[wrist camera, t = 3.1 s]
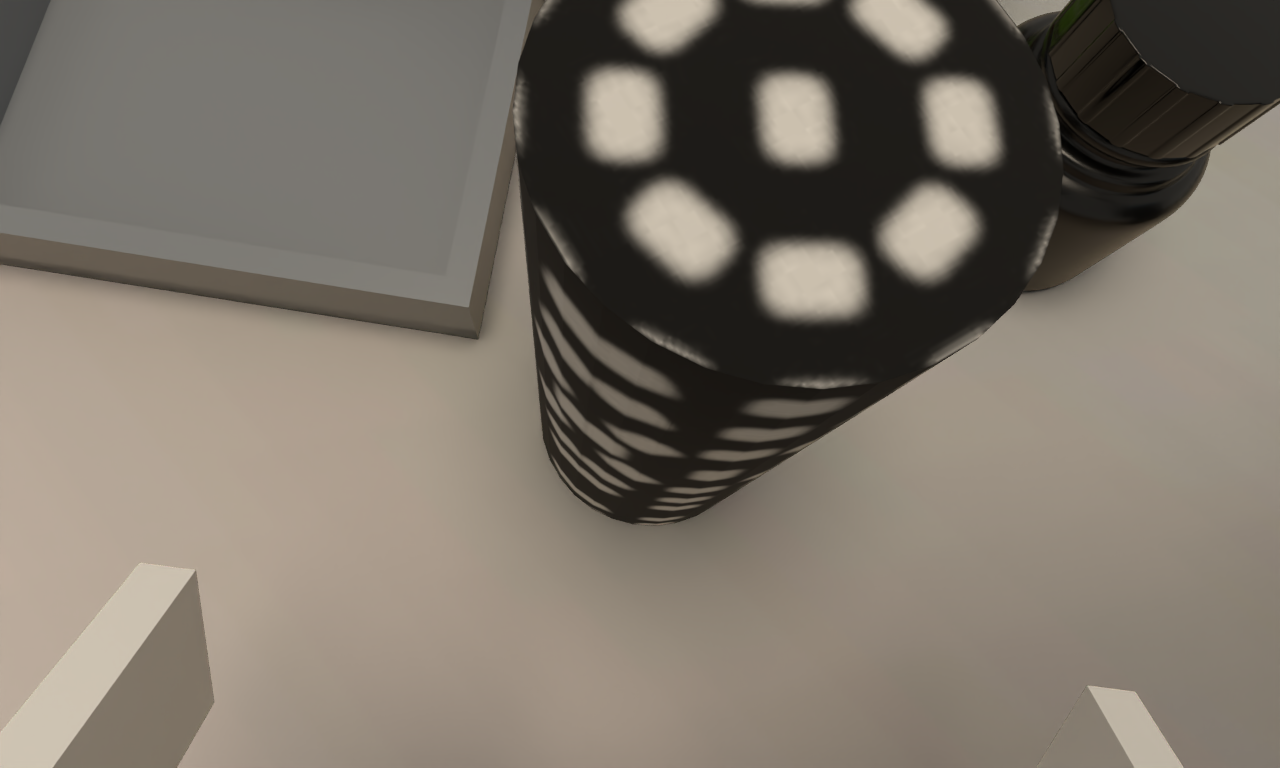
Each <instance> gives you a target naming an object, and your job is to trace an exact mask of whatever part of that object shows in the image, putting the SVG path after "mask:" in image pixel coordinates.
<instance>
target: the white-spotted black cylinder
mask: <svg viewBox="0 0 1280 768" xmlns="http://www.w3.org/2000/svg"><path fill="white" fill-rule="evenodd" d="M513 123H514V134H515V144H516V155H517V166H518V176H519V187H520V198H521V209H522V219H523V230H524V241H525V251H526V262H527V273H528V283H529V294H530V305H531V315H532V326H533V337H534V348H535V358H536V369H537V380H538V390H539V401H540V412H541V422H542V431H543V439H544V443H545V446H546V449H547V452H548V455H549V458H550V460H551V462H552V464H553V466H554V468H555V469H556V471H557V473H558V475H559V477H560V478H561V479H562V481H563V482H564V483H565V484H566V485H567V486H568V488H569V489H570V490H571V491H572V492H573V493H574V495H576V496H577V497H578V498H579V499H581V500H582V501H583V502H585V503H586V504H587V505H588V506H590V507H591V508H592V509H594V510H596V511H598V512H600V513H602V514H604V515H606V516H608V517H610V518H613V519H616V520H620V521H624V522H627V523H631V524H640V525H662V524H670V523H677V522H679V521H682V520H685V519H688V518H691V517H694V516H697V515H698V514H700V513H702V512H703V511H705V510H707V509H708V508H710V507H712V506H714V505H715V504H717V503H718V502H720V501H722V500H723V499H725V498H726V497H728V496H729V495H731V494H733V493H734V492H736V491H737V490H739V489H741V488H742V487H744V486H745V485H747V484H748V483H750V482H752V481H753V480H755V479H756V478H758V477H760V476H761V475H763V474H764V473H766V472H767V471H769V470H771V469H772V468H774V467H775V466H777V465H779V464H780V463H782V462H783V461H785V460H786V459H788V458H790V457H791V456H793V455H794V454H796V453H798V452H799V451H801V450H802V449H804V448H805V447H807V446H809V445H810V444H812V443H813V442H815V441H817V440H818V439H820V438H821V437H823V436H824V435H826V434H828V433H829V432H831V431H832V430H834V429H836V428H837V427H839V426H840V425H842V424H843V423H845V422H847V421H848V420H850V419H851V418H853V417H855V416H856V415H858V414H859V413H861V412H862V411H864V410H866V409H867V408H869V407H870V406H872V405H874V404H875V403H877V402H878V401H880V400H881V399H883V398H885V397H886V396H888V395H889V394H891V393H893V392H894V391H896V390H897V389H899V388H901V387H902V386H904V385H905V384H907V383H908V382H910V381H912V380H913V379H915V378H916V377H918V376H920V375H921V374H923V373H924V372H926V371H927V370H929V369H931V368H932V367H934V366H935V365H937V364H939V363H940V362H942V361H943V360H945V359H946V358H948V357H950V356H951V355H953V354H954V353H956V352H958V351H959V350H961V349H962V348H964V347H965V346H967V345H969V344H970V343H972V342H973V341H975V340H977V339H978V338H979V337H980V336H981V335H982V334H983V333H984V332H985V331H987V330H988V329H989V328H990V327H991V326H992V325H993V324H994V323H995V322H996V321H997V320H998V319H999V318H1000V317H1001V316H1002V315H1003V314H1004V313H1006V312H1007V311H1008V310H1009V309H1010V308H1011V307H1012V306H1013V305H1014V304H1015V303H1016V301H1017V299H1018V298H1019V296H1020V295H1021V293H1022V292H1023V290H1024V289H1025V287H1026V286H1027V284H1028V283H1029V281H1030V280H1031V278H1032V277H1033V275H1034V274H1035V272H1036V271H1037V269H1038V267H1039V266H1040V264H1041V263H1042V260H1043V257H1044V255H1045V252H1046V249H1047V246H1048V244H1049V241H1050V238H1051V235H1052V233H1053V230H1054V227H1055V224H1056V222H1057V219H1058V212H1059V204H1060V196H1061V188H1062V180H1063V172H1064V170H1063V159H1062V148H1061V136H1060V125H1059V121H1058V118H1057V114H1056V111H1055V108H1054V104H1053V101H1052V98H1051V94H1050V91H1049V88H1048V84H1047V81H1046V78H1045V76H1044V74H1043V72H1042V70H1041V68H1040V66H1039V64H1038V62H1037V60H1036V58H1035V57H1034V55H1033V53H1032V51H1031V49H1030V47H1029V45H1028V43H1027V41H1026V39H1025V37H1024V35H1023V34H1022V32H1021V31H1020V30H1019V29H1018V27H1017V26H1016V25H1015V23H1014V22H1013V21H1012V19H1011V18H1010V17H1009V15H1008V14H1007V13H1006V12H1005V10H1004V9H1003V8H1002V6H1001V5H1000V4H999V2H998V1H997V0H546V1H545V2H544V4H543V5H542V7H541V8H540V10H539V11H538V13H537V15H536V16H535V18H534V20H533V23H532V26H531V28H530V31H529V34H528V37H527V40H526V42H525V45H524V48H523V51H522V54H521V56H520V59H519V62H518V68H517V77H516V86H515V94H514V103H513Z"/></svg>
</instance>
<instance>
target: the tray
mask: <svg viewBox="0 0 1280 768" xmlns="http://www.w3.org/2000/svg"><path fill="white" fill-rule="evenodd" d="M545 1H546V0H0V264H4V265H10V266H17V267H23V268H29V269H36V270H42V271H48V272H55V273H61V274H67V275H74V276H80V277H86V278H93V279H99V280H105V281H112V282H118V283H125V284H131V285H137V286H144V287H150V288H156V289H163V290H169V291H175V292H182V293H188V294H194V295H201V296H207V297H213V298H220V299H226V300H232V301H239V302H245V303H251V304H258V305H264V306H270V307H277V308H283V309H290V310H296V311H302V312H309V313H315V314H321V315H328V316H334V317H340V318H347V319H353V320H359V321H366V322H372V323H378V324H385V325H391V326H397V327H404V328H410V329H416V330H423V331H429V332H435V333H442V334H448V335H455V336H461V337H467V338H474V339H478V338H479V333H480V328H481V323H482V318H483V313H484V308H485V303H486V298H487V293H488V288H489V283H490V278H491V273H492V268H493V263H494V258H495V253H496V248H497V243H498V238H499V233H500V228H501V223H502V218H503V213H504V208H505V203H506V198H507V193H508V188H509V183H510V178H511V173H512V168H513V163H514V158H515V153H516V144H515V134H514V123H513V103H514V94H515V86H516V77H517V68H518V62H519V59H520V56H521V54H522V51H523V48H524V45H525V42H526V40H527V37H528V34H529V31H530V28H531V26H532V23H533V20H534V18H535V16H536V15H537V13H538V11H539V10H540V8H541V7H542V5H543V4H544V2H545Z"/></svg>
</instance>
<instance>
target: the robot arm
mask: <svg viewBox="0 0 1280 768" xmlns="http://www.w3.org/2000/svg"><path fill="white" fill-rule="evenodd" d="M213 704H214V696H213V689H212V682H211V674H210V667H209V660H208V653H207V646H206V639H205V631H204V624H203V617H202V610H201V603H200V595H199V588H198V581H197V574H196V570H193V569H186V568H178V567H170V566H162V565H155V564H147V563H139V564H138V566H137V567H136V568H135V569H134V570H133V572H132V573H131V574H130V575H129V577H128V578H127V579H126V580H125V581H124V583H123V584H122V585H121V586H120V587H119V589H118V590H117V591H116V592H115V594H114V595H113V596H112V597H111V598H110V600H109V601H108V602H107V603H106V605H105V606H104V607H103V608H102V609H101V611H100V612H99V613H98V614H97V615H96V617H95V618H94V619H93V620H92V622H91V623H90V624H89V625H88V626H87V628H86V629H85V630H84V631H83V632H82V634H81V635H80V636H79V637H78V639H77V640H76V641H75V642H74V643H73V645H72V646H71V647H70V648H69V650H68V651H67V652H66V653H65V654H64V656H63V657H62V658H61V659H60V660H59V662H58V663H57V664H56V665H55V667H54V668H53V669H52V670H51V671H50V673H49V674H48V675H47V676H46V677H45V679H44V680H43V681H42V682H41V684H40V685H39V686H38V687H37V688H36V690H35V691H34V692H33V693H32V694H31V696H30V697H29V698H28V699H27V701H26V702H25V703H24V704H23V705H22V707H21V708H20V709H19V710H18V712H17V713H16V714H15V715H14V716H13V718H12V719H11V720H10V721H9V722H8V724H7V725H6V726H5V727H4V729H3V730H2V731H1V732H0V768H177V766H178V765H179V763H180V761H181V759H182V758H183V756H184V754H185V752H186V751H187V749H188V747H189V745H190V744H191V742H192V740H193V739H194V737H195V735H196V733H197V732H198V730H199V728H200V726H201V725H202V723H203V721H204V719H205V718H206V716H207V714H208V712H209V711H210V709H211V707H212V705H213ZM1036 768H1184V767H1183V766H1182V764H1181V763H1180V761H1179V760H1178V758H1177V756H1176V755H1175V753H1174V752H1173V750H1172V749H1171V747H1170V745H1169V744H1168V742H1167V741H1166V739H1165V738H1164V736H1163V734H1162V733H1161V731H1160V730H1159V728H1158V726H1157V725H1156V723H1155V722H1154V720H1153V719H1152V717H1151V715H1150V714H1149V712H1148V711H1147V709H1146V708H1145V706H1144V704H1143V703H1142V701H1141V700H1140V698H1139V697H1138V695H1137V693H1136V692H1134V691H1127V690H1119V689H1111V688H1103V687H1096V686H1088V685H1087V686H1086V688H1085V690H1084V691H1083V693H1082V694H1081V696H1080V698H1079V699H1078V701H1077V702H1076V704H1075V706H1074V707H1073V709H1072V711H1071V712H1070V714H1069V715H1068V717H1067V719H1066V720H1065V722H1064V723H1063V725H1062V727H1061V728H1060V730H1059V732H1058V733H1057V735H1056V736H1055V738H1054V740H1053V741H1052V743H1051V744H1050V746H1049V748H1048V749H1047V751H1046V753H1045V754H1044V756H1043V757H1042V759H1041V761H1040V762H1039V764H1038V765H1037V767H1036Z"/></svg>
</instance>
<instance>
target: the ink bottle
mask: <svg viewBox="0 0 1280 768" xmlns="http://www.w3.org/2000/svg"><path fill="white" fill-rule="evenodd" d="M1017 27H1018V29H1019V30H1020V31H1021V32H1022V34H1023V35H1024V37H1025V39H1026V41H1027V43H1028V45H1029V47H1030V49H1031V51H1032V53H1033V55H1034V57H1035V58H1036V60H1037V62H1038V64H1039V66H1040V68H1041V70H1042V72H1043V74H1044V76H1045V78H1046V81H1047V84H1048V88H1049V91H1050V94H1051V98H1052V101H1053V104H1054V108H1055V111H1056V114H1057V118H1058V121H1059V125H1060V136H1061V148H1062V159H1063V170H1064V172H1063V180H1062V188H1061V196H1060V204H1059V212H1058V219H1057V222H1056V224H1055V227H1054V230H1053V233H1052V235H1051V238H1050V241H1049V244H1048V246H1047V249H1046V252H1045V255H1044V257H1043V260H1042V263H1041V264H1040V266H1039V267H1038V269H1037V271H1036V272H1035V274H1034V275H1033V277H1032V278H1031V280H1030V281H1029V283H1028V284H1027V286H1026V287H1025V289H1024V291H1029V290H1041V289H1046V288H1050V287H1054V286H1057V285H1059V284H1062V283H1064V282H1066V281H1068V280H1070V279H1072V278H1073V277H1075V276H1077V275H1078V274H1080V273H1081V272H1083V271H1084V270H1086V269H1088V268H1089V267H1091V266H1092V265H1094V264H1096V263H1097V262H1099V261H1100V260H1102V259H1103V258H1105V257H1107V256H1108V255H1110V254H1111V253H1113V252H1114V251H1116V250H1118V249H1119V248H1121V247H1122V246H1124V245H1126V244H1127V243H1129V242H1130V241H1132V240H1133V239H1135V238H1137V237H1138V236H1140V235H1141V234H1143V233H1144V232H1146V231H1148V230H1149V229H1151V228H1152V227H1154V226H1156V225H1157V224H1159V223H1160V222H1162V221H1163V220H1165V219H1166V218H1168V217H1169V216H1170V215H1172V214H1173V213H1174V212H1175V211H1176V210H1178V209H1179V208H1180V207H1181V206H1182V205H1183V204H1184V203H1185V202H1186V201H1187V200H1188V199H1189V197H1190V196H1191V195H1192V193H1193V192H1194V191H1195V189H1196V188H1197V186H1198V184H1199V183H1200V181H1201V179H1202V177H1203V175H1204V172H1205V170H1206V167H1207V164H1208V160H1209V156H1210V151H1211V150H1212V149H1213V148H1214V147H1215V146H1216V145H1220V144H1222V143H1224V142H1225V141H1227V140H1228V139H1230V138H1231V137H1232V136H1234V135H1235V134H1237V133H1238V132H1240V131H1241V130H1242V129H1244V128H1245V127H1247V126H1248V125H1250V124H1251V123H1253V122H1254V121H1255V120H1257V119H1258V118H1260V117H1261V116H1263V115H1264V114H1266V113H1267V112H1268V111H1270V110H1271V109H1273V108H1274V107H1276V106H1277V105H1279V104H1280V0H1070V1H1069V2H1068V3H1067V5H1066V6H1065V7H1064V8H1063V9H1062V10H1061V11H1058V12H1052V13H1047V14H1043V15H1040V16H1037V17H1034V18H1032V19H1029V20H1027V21H1025V22H1023V23H1022V24H1020V25H1018V26H1017Z"/></svg>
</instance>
